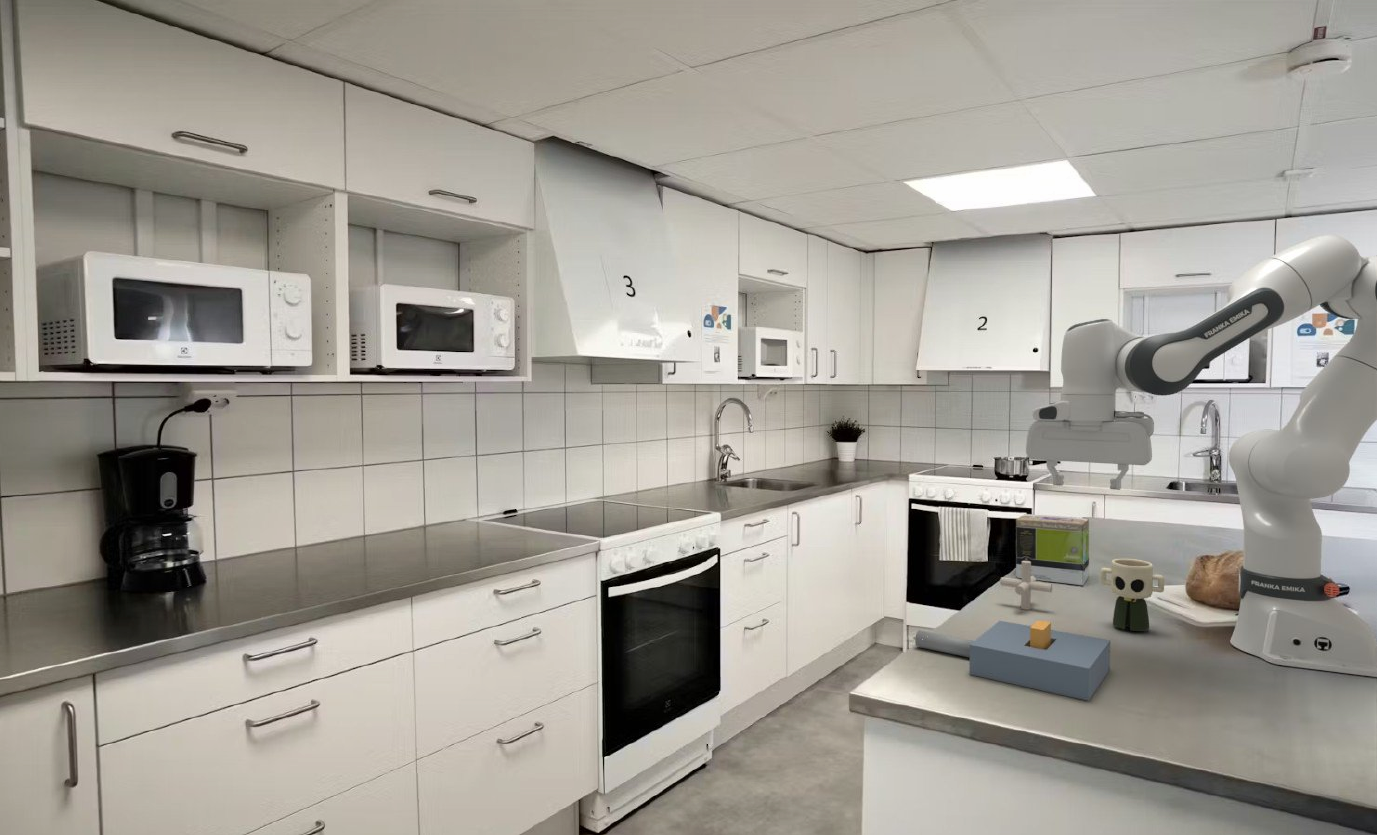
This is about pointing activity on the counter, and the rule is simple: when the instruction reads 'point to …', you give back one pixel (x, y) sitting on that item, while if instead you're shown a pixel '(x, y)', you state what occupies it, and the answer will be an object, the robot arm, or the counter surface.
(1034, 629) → the orange rectangular block
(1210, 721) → the counter surface
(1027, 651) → the blue holed block
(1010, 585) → the pipe connector
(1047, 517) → the tea box
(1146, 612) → the character mug
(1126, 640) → the counter surface
